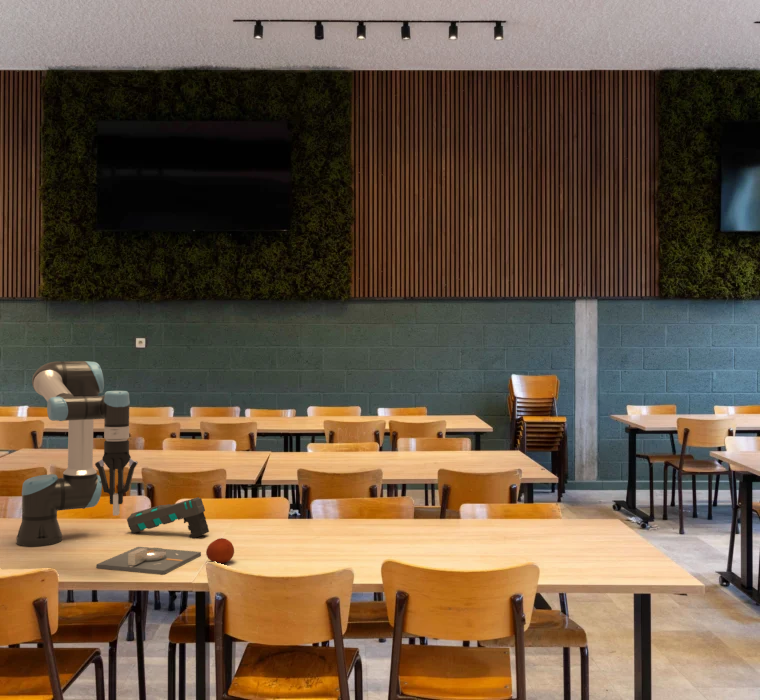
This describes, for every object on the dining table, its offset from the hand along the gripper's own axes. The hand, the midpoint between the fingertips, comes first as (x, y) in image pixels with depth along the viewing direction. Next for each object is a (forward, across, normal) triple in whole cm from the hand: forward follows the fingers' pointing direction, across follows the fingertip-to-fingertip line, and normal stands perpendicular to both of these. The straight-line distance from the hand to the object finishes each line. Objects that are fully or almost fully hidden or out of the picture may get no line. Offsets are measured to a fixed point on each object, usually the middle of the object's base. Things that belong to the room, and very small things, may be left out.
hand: (116, 514), depth 257 cm
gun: (+18, +10, +47) cm, 51 cm away
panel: (+17, +9, +9) cm, 21 cm away
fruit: (+18, +32, +6) cm, 37 cm away
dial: (+16, +8, +6) cm, 19 cm away
